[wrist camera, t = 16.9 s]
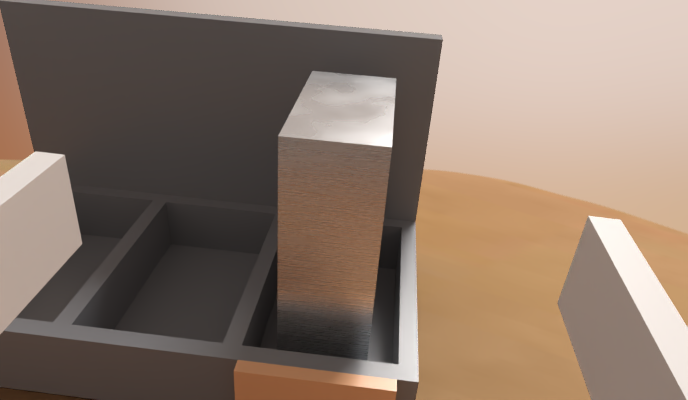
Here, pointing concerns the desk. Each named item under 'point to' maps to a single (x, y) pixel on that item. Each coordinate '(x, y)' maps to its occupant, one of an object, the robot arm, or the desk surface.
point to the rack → (199, 203)
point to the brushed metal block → (332, 212)
